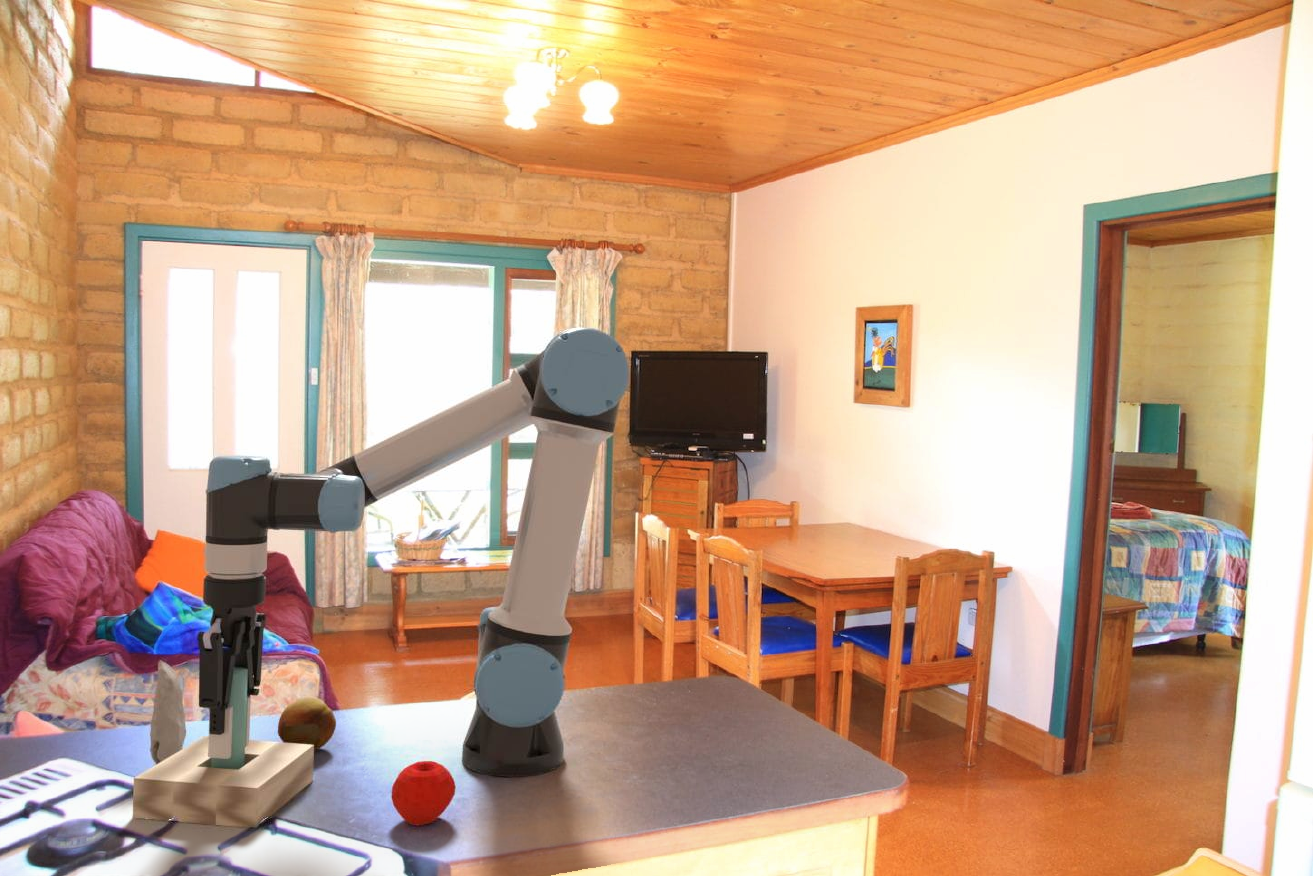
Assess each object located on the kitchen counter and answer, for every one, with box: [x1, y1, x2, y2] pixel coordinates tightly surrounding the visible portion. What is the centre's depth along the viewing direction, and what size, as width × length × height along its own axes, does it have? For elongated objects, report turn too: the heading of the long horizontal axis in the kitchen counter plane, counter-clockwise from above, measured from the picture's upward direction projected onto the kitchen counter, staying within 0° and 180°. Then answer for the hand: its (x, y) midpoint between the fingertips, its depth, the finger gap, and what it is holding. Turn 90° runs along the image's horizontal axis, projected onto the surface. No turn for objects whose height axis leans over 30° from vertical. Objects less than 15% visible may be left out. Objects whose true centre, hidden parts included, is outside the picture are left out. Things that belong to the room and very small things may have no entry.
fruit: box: [277, 696, 337, 752], centre depth 149 cm, size 8×8×8 cm
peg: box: [211, 667, 248, 770], centre depth 130 cm, size 4×4×14 cm
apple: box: [391, 760, 457, 826], centre depth 126 cm, size 8×8×7 cm
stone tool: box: [149, 660, 187, 765], centre depth 140 cm, size 9×3×15 cm, turn 8°
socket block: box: [132, 736, 315, 829], centre depth 130 cm, size 16×16×5 cm
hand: (228, 750), depth 130 cm, fingers closed on peg, 4 cm apart
